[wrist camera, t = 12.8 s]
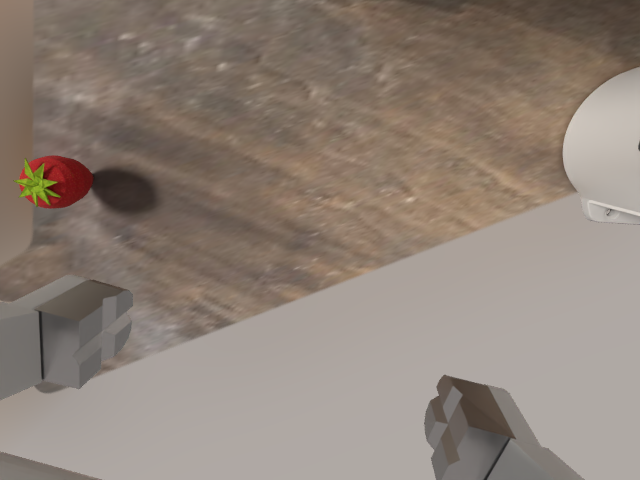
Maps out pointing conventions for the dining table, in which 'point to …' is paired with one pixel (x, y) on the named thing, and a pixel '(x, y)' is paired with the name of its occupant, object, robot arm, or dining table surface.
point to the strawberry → (54, 181)
